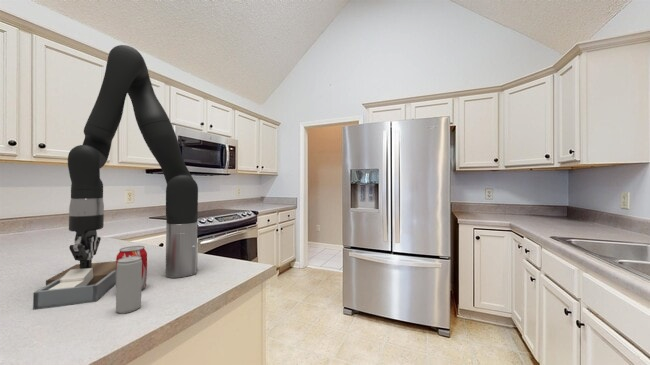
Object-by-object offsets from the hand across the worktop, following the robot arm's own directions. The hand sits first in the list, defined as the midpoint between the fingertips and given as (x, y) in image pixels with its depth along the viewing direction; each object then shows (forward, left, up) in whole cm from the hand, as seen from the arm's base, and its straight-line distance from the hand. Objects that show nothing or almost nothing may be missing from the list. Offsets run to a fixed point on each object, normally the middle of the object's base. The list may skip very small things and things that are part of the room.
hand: (85, 272), depth 75 cm
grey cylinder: (-17, +22, -4) cm, 28 cm away
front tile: (0, +9, -3) cm, 10 cm away
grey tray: (-2, +7, -4) cm, 8 cm away
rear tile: (0, +3, -2) cm, 4 cm away
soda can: (-14, +9, -4) cm, 17 cm away
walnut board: (0, -7, -4) cm, 8 cm away
